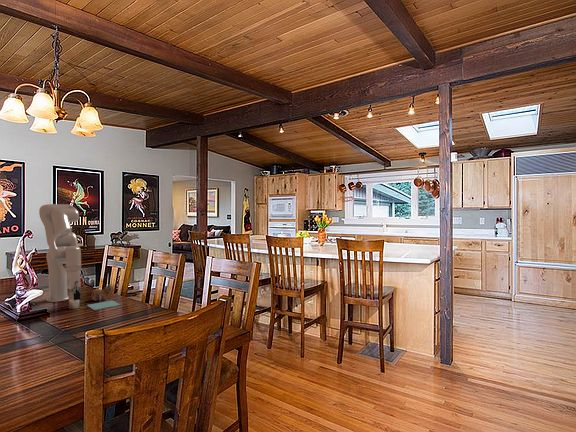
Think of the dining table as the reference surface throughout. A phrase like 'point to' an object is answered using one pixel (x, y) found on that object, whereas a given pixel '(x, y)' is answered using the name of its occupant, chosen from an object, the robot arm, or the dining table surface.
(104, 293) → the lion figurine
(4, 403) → the dining table surface
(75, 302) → the tube
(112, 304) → the card
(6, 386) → the dining table surface
